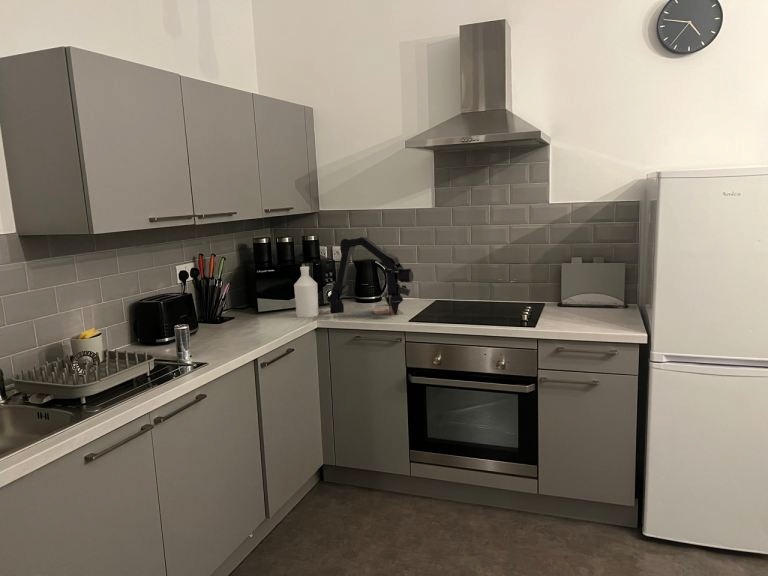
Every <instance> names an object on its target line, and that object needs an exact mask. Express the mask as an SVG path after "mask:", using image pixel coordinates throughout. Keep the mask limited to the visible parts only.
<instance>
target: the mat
mask: <svg viewBox="0 0 768 576" xmlns="http://www.w3.org/2000/svg"><path fill="white" fill-rule="evenodd" d="M387 309H388V313H387V314H374V313H373V309H371V310H359V311H358V310H357V311H352V313H353V315H354V316H355V318H356V319H360V318H361V319H362V318H372V317H373V318H374V317H384V316H391V315H390V314H389V308H387ZM398 312H399V315H404V312H403V311H401V309H399V308H398ZM399 315H398V316H399Z"/></svg>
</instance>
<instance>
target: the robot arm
mask: <svg viewBox="0 0 768 576" xmlns="http://www.w3.org/2000/svg"><path fill="white" fill-rule="evenodd" d="M358 246H362V247H363V248H365V249H366V250H367V251H368V252H370V253H371V254H372V255H374V256H375V257H376V258H378V259H379V261H380V263H381V264H382V265H383V266H384V267H385V268H384V270H382V272H381V273H382V274H386V275H385V276H386V284H385V286H386V290H384V292H383V297H384V296H385V298H384V300H385V299H386V300H385V302H386V301H387V302H386V303H388V307H389V306H391V307H392V310H393V312H394V315H393V316H397V315H396V314H397V310H398V309H399V305H400V304H401V303H402V302H403V301H404V299H403V298H404V297H403V296H402V295H405V296H406V297H409V295H410V292H411V289H410V288H408V287H407V285H405V284H402V285H401V284H400V283H413V282H414V276H415V275H414V272H413V271H412V268H404V267H403V265H402V264H401V263H400V259H399V258H398V257H397V256H396V255H394V254H392V253H389V252H386V251H385V250H383V249H382V248H381V247H379V246H378V245H376V244H375V243H374V242H372V241H371V240H370V239H369V238H368V237H367V236H362V237H359V238H353V237H347V238H343V239H342V240H341V241H340V245H339V250H340V254H341V255H340V261H339V266H338V272H337V276H336V281H335V283H334V285H333V287H332V288H331V291H330V294H329V295H328V297H327V298H326V300H327V302H328V303H329V313H330V314H331V315H332V314H343V313H344V312H345V308H344V302H343V300H344V299H345V297H346V296H347V294H349V293H348V290H349V285H347V283H346V281H347V278H348V276H347V275H348V271H349V267H350V266H349V265H350V260H351V257H352V255H353V253H354V251H355V249H356V247H358ZM399 282H400V283H399Z"/></svg>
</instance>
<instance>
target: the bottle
mask: <svg viewBox="0 0 768 576" xmlns="http://www.w3.org/2000/svg"><path fill="white" fill-rule="evenodd" d="M299 270H300V273H301V274H300V277H299V278H298V279H297V281H296V282H295V283H294V284H293V287H294V299H295V300H294V301H295V311H296V312H295V313H296V317H297V316H298V318H312V317H317V316H319V314H320V313H319V293H318V291H319V289H318V282H316V281H315V280H314V279H313V278H312V277H311V276H310V271H309V270H310V266H300V269H299Z"/></svg>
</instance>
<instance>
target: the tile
mask: <svg viewBox="0 0 768 576" xmlns="http://www.w3.org/2000/svg"><path fill="white" fill-rule="evenodd" d="M388 309H389V308H387V307H380V308H379V307H378V308H372V310H373V313H374V314H387V313H388Z"/></svg>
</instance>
